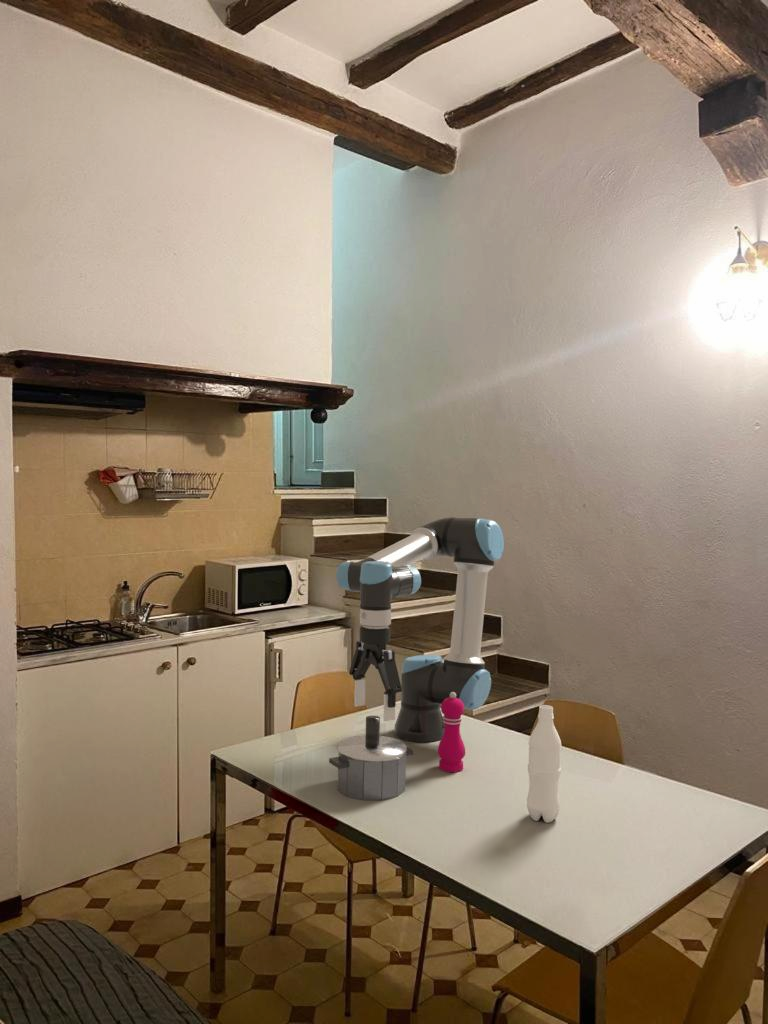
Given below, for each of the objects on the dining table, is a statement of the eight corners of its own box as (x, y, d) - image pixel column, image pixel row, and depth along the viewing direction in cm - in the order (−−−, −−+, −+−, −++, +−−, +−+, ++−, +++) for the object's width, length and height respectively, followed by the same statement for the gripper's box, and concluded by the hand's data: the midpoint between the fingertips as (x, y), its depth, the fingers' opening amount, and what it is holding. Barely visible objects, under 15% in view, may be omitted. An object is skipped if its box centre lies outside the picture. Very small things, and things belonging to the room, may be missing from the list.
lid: (382, 741, 204) (383, 704, 203) (419, 761, 190) (420, 721, 189) (325, 751, 195) (326, 713, 194) (360, 773, 181) (361, 732, 180)
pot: (389, 768, 205) (390, 734, 205) (425, 790, 191) (426, 753, 191) (317, 783, 194) (318, 747, 193) (350, 807, 180) (351, 768, 180)
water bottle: (550, 827, 172) (554, 713, 171) (520, 818, 176) (524, 707, 175) (564, 817, 177) (568, 706, 177) (535, 808, 182) (538, 700, 181)
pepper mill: (464, 764, 210) (466, 689, 209) (464, 773, 203) (467, 696, 202) (437, 762, 211) (439, 687, 210) (436, 772, 203) (438, 695, 203)
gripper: (336, 618, 200) (335, 701, 201) (390, 636, 179) (388, 729, 180) (362, 616, 204) (361, 697, 205) (417, 633, 183) (416, 724, 184)
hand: (374, 712), depth 192 cm, fingers open, 13 cm apart
